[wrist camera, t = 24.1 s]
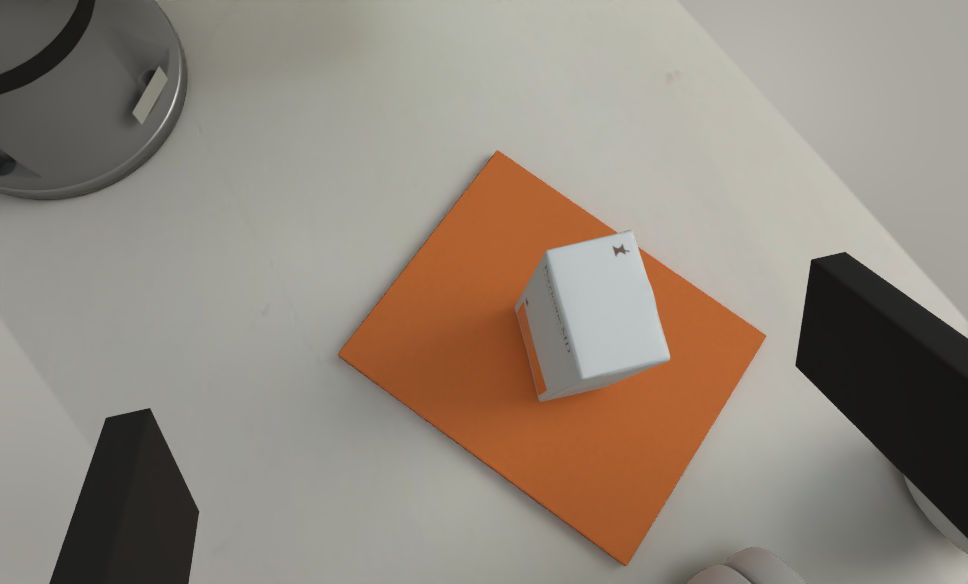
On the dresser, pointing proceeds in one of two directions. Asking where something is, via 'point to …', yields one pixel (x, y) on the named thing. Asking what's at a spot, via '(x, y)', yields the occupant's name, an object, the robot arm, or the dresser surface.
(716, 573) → the headphones
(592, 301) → the cosmetic box
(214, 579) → the dresser surface
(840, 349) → the robot arm
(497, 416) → the orange rectangular board
